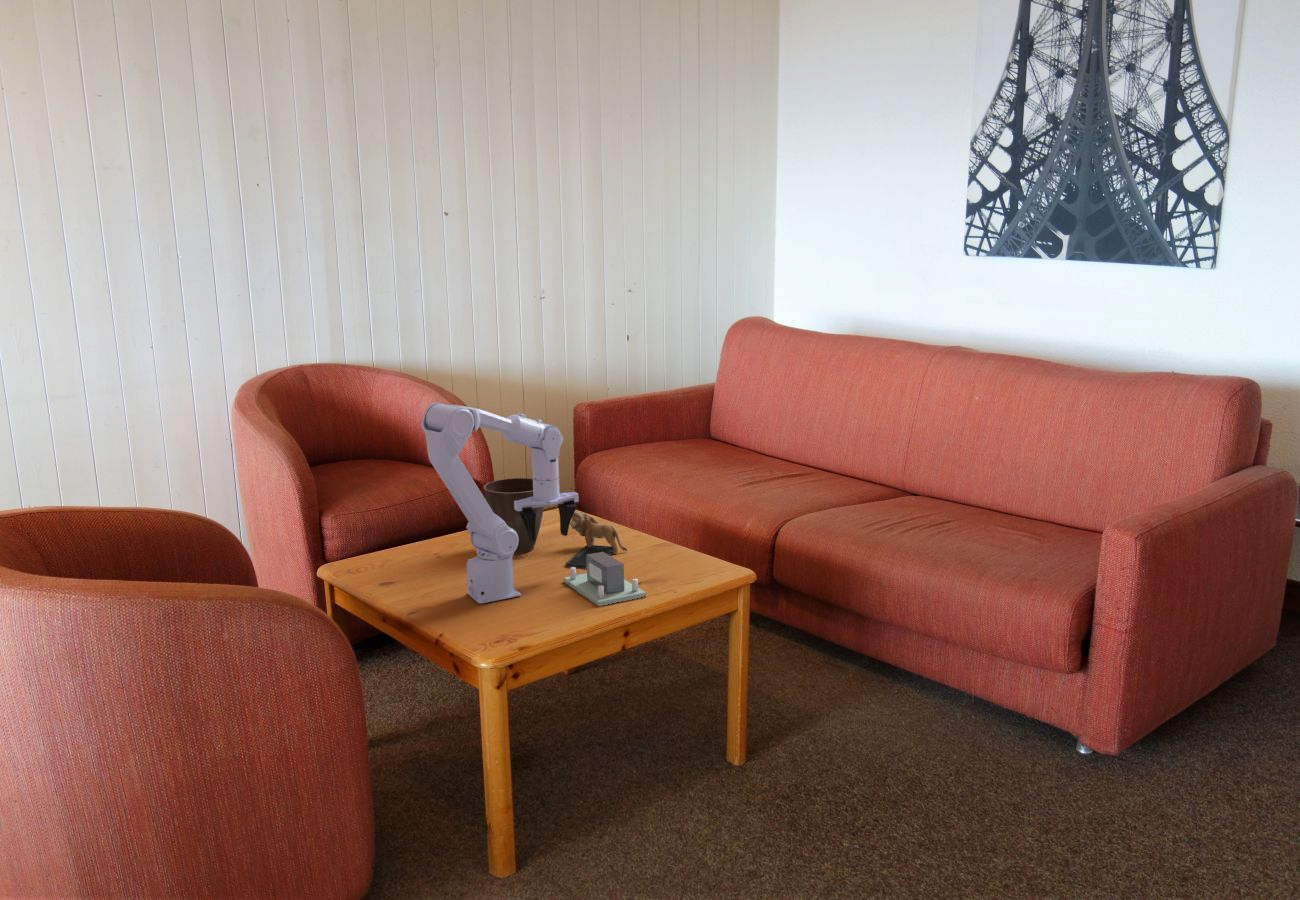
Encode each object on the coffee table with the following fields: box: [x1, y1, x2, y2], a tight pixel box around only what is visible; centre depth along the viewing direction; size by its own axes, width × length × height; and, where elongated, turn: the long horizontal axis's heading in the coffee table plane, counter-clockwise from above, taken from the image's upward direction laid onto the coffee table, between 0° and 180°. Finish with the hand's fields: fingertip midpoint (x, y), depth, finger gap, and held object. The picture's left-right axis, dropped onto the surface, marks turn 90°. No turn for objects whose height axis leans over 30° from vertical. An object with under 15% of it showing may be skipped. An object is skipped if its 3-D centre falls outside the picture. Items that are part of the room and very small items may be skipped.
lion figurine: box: [569, 511, 628, 555], centre depth 266 cm, size 15×5×9 cm, turn 67°
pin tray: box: [562, 567, 647, 607], centre depth 239 cm, size 11×18×4 cm, turn 28°
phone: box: [565, 544, 614, 570], centre depth 260 cm, size 8×1×15 cm
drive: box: [586, 552, 625, 594], centre depth 237 cm, size 4×10×6 cm, turn 28°
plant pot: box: [483, 477, 545, 554], centre depth 267 cm, size 15×15×16 cm
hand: (548, 537), depth 245 cm, fingers open, 7 cm apart
